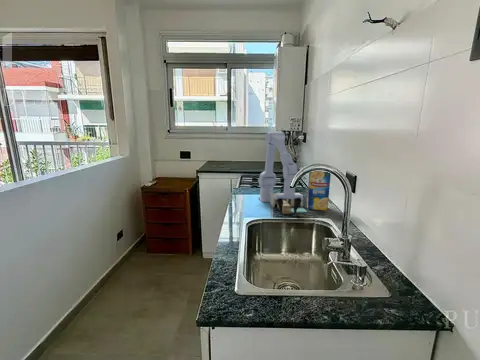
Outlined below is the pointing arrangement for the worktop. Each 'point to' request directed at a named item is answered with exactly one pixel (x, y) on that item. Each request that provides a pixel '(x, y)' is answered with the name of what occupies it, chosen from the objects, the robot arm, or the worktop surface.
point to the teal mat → (298, 210)
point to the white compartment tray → (289, 201)
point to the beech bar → (285, 208)
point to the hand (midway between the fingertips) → (287, 212)
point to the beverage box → (318, 190)
